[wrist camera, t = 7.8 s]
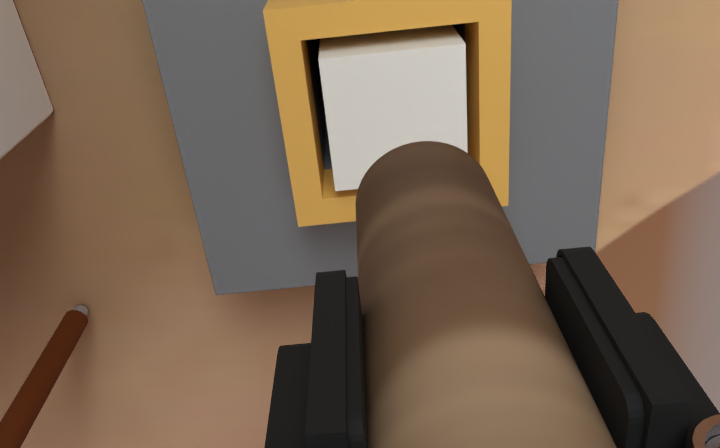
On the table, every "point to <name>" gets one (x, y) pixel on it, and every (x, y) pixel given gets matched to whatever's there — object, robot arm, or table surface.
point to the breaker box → (310, 136)
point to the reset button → (391, 95)
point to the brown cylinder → (458, 316)
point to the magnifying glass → (42, 379)
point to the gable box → (18, 82)
